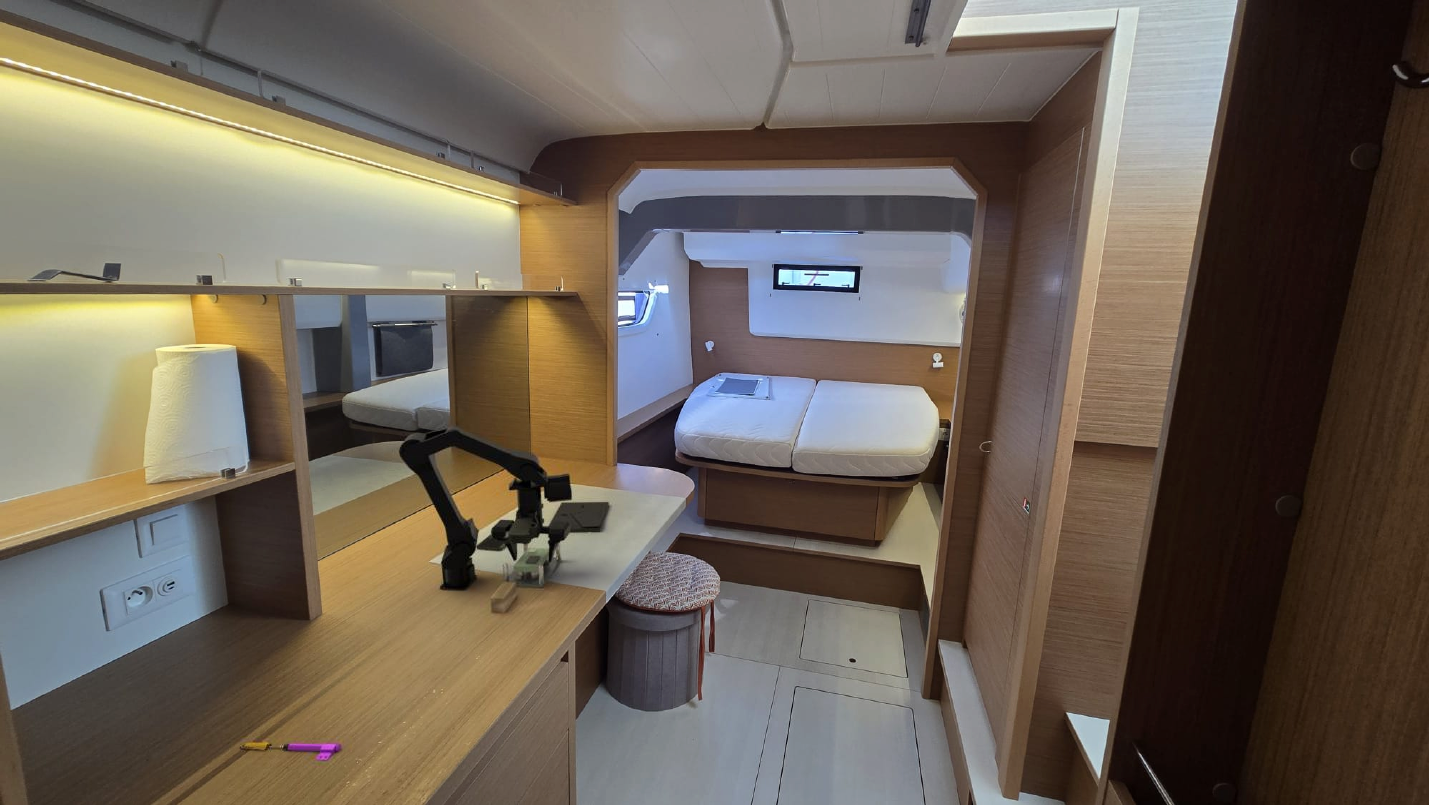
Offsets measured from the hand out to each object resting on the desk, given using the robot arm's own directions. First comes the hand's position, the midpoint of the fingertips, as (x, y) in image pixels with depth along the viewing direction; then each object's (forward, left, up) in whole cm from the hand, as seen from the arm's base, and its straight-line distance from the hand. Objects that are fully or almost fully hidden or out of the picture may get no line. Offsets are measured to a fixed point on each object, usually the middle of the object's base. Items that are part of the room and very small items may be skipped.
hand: (533, 560), depth 142 cm
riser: (-1, -14, -3) cm, 15 cm away
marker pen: (-18, -58, -4) cm, 60 cm away
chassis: (0, 0, -3) cm, 3 cm away
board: (0, 0, 0) cm, 0 cm away
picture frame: (+2, +35, -4) cm, 35 cm away
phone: (-16, +19, -4) cm, 25 cm away
